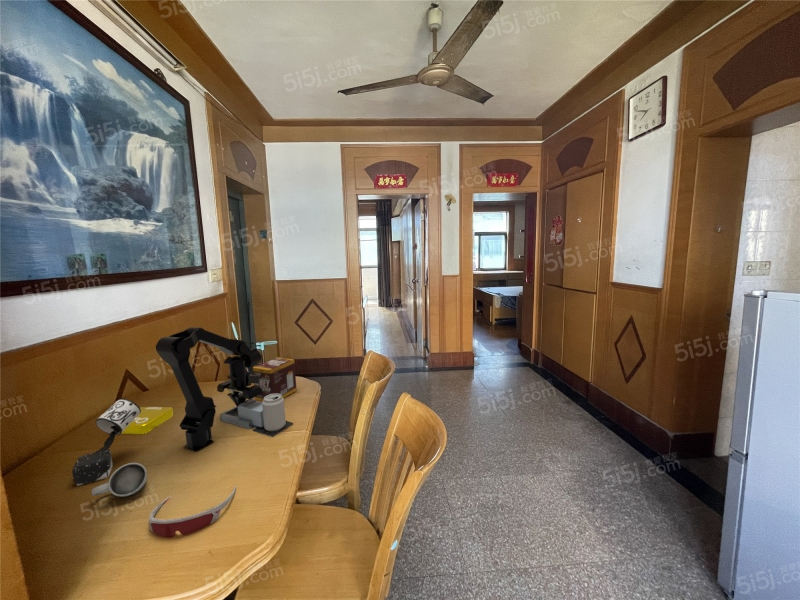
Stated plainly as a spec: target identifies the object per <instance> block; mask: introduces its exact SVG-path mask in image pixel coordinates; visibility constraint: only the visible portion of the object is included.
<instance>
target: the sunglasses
mask: <svg viewBox="0 0 800 600" xmlns="http://www.w3.org/2000/svg"><path fill="white" fill-rule="evenodd" d="M236 488H237V486H236V484H235V485H234V487H233V490H232V492H231V493H230V495H229V496H228V497H227V498H226V499H225V500H223V501H222V502H221V503H219V504H218V505H216V506H212V507H211V508H209V509H206V510H203V511H202V512H199V513H196V514H192V515H189V516H184V517H179V518H170V519H160V518H156V517H155V515H156V513H157V512H158V510H159V509H160V508H161V507H162V506H163V505H164V504H165V503H166V502H168V500H169V499H170V498H171V497H172V496H170V495H169V496H168V497H166V498H165V499H164V500H162V501H161V502H160V503H159V504H158V505H157V506H156V507H154V508H153V509H152V511H151V512H150V514H149V518H148V526H149V529H150V530H149V531H151V532H152V533H153V534H155V535H156V536H158V537H161V538H162V537H163V538H173V537H174V535H175V534H176V532H179V533H180V534H181V535H183V536H188V535H190V534H192V533H196V532H199V531H200V530H202V529H204V528H206V527H207V526H210V525H212V523H215V522H217V521H218V519H219V517H220V514H221V511H223V509H224V508H225V507H227V506H228V505H229V503H230V501H231V500H232V499H233V496H234V495H235V492H236Z"/></svg>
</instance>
